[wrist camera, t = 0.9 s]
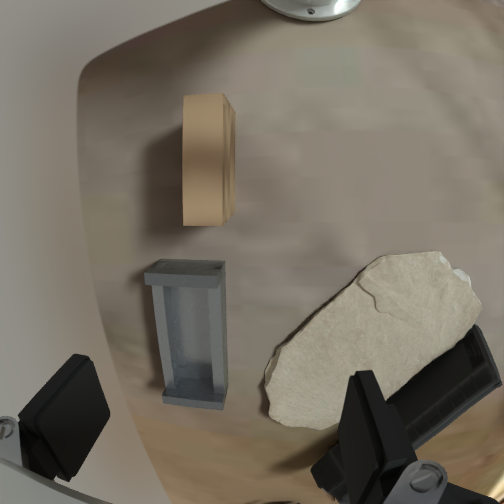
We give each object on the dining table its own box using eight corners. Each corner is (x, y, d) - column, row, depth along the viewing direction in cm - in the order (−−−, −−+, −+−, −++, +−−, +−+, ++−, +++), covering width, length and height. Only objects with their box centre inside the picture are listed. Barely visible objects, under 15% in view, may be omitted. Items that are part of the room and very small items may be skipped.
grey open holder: (160, 258, 33) (143, 272, 28) (225, 260, 32) (217, 276, 27) (174, 379, 37) (163, 403, 32) (228, 384, 36) (222, 410, 32)
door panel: (205, 113, 29) (183, 95, 21) (236, 112, 28) (223, 93, 21) (204, 212, 31) (182, 225, 23) (235, 212, 31) (222, 226, 23)
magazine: (520, 335, 23) (343, 542, 21) (527, 348, 23) (359, 544, 22) (434, 309, 40) (305, 463, 38) (444, 321, 40) (319, 470, 39)
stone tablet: (480, 307, 32) (490, 314, 30) (309, 437, 38) (310, 448, 36) (425, 208, 30) (435, 211, 28) (227, 371, 36) (224, 383, 34)
